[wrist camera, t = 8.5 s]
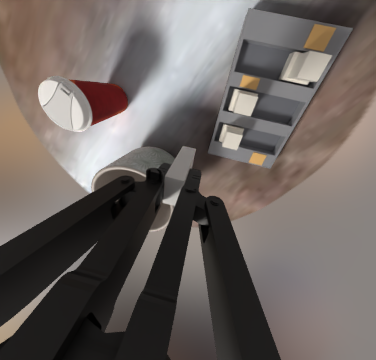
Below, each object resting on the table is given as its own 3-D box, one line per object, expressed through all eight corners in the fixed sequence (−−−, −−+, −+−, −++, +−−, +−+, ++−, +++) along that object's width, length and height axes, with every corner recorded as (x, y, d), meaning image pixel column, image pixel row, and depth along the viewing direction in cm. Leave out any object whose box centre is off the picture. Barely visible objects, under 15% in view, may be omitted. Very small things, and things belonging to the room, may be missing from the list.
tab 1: (234, 88, 27) (237, 89, 22) (255, 93, 27) (263, 95, 22) (228, 108, 29) (229, 113, 24) (248, 113, 28) (253, 119, 24)
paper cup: (107, 68, 30) (37, 60, 18) (138, 97, 32) (92, 106, 20) (95, 100, 34) (31, 109, 22) (123, 124, 36) (77, 144, 24)
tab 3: (289, 53, 23) (307, 46, 18) (315, 59, 23) (339, 53, 18) (278, 79, 25) (291, 78, 20) (301, 84, 25) (320, 85, 20)
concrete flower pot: (154, 122, 34) (116, 145, 22) (201, 172, 39) (192, 213, 27) (119, 163, 43) (78, 196, 30) (162, 199, 48) (141, 241, 35)
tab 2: (223, 122, 30) (224, 129, 26) (242, 126, 30) (246, 134, 25) (218, 138, 32) (218, 147, 28) (236, 142, 32) (239, 152, 27)
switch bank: (245, 16, 23) (249, 7, 20) (337, 34, 22) (354, 27, 19) (208, 148, 35) (207, 153, 32) (266, 162, 35) (270, 169, 32)
